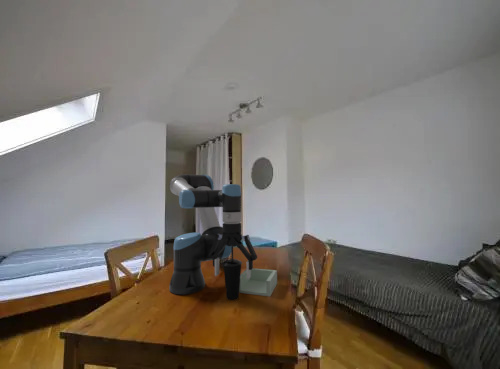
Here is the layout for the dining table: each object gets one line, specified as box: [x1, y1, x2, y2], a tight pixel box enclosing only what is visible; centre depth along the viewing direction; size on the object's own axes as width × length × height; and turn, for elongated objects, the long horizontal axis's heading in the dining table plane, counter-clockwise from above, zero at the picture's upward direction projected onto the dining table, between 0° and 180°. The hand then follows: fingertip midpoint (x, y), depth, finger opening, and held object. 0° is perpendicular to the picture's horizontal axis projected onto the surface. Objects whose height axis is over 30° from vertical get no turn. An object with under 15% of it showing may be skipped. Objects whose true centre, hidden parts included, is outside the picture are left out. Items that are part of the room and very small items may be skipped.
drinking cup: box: [222, 246, 243, 301], centre depth 92 cm, size 8×8×20 cm
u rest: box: [239, 267, 278, 297], centre depth 101 cm, size 14×14×6 cm
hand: (232, 276), depth 92 cm, fingers open, 13 cm apart
